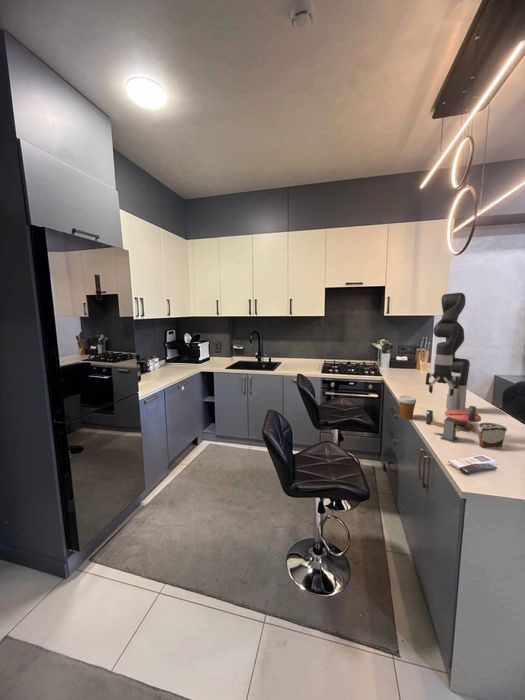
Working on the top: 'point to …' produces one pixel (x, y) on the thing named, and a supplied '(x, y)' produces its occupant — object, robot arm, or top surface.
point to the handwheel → (464, 415)
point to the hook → (430, 422)
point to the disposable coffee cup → (407, 406)
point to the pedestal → (465, 426)
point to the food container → (491, 435)
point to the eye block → (449, 430)
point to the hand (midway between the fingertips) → (440, 394)
